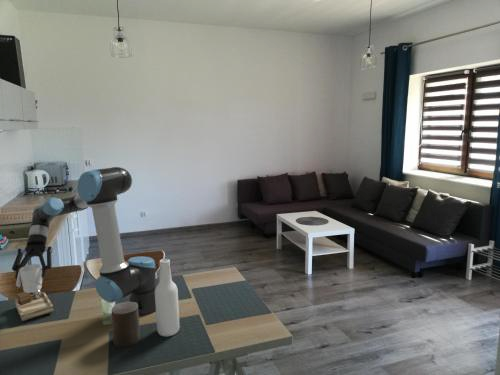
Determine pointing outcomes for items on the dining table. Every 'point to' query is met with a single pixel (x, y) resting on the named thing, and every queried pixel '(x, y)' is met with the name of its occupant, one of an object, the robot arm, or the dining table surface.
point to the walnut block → (24, 298)
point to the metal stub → (37, 294)
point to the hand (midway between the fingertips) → (28, 285)
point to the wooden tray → (34, 307)
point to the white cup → (30, 278)
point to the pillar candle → (125, 324)
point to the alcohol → (166, 302)
